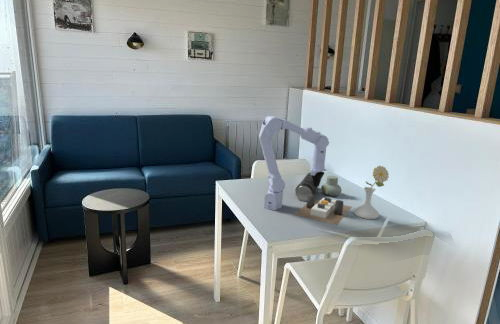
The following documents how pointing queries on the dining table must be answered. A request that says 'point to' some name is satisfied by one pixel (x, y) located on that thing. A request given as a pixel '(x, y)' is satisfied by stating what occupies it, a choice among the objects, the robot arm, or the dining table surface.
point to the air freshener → (331, 186)
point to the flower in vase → (367, 209)
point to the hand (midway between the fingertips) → (316, 186)
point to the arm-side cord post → (310, 201)
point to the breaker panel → (330, 217)
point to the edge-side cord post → (338, 207)
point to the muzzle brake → (305, 188)
